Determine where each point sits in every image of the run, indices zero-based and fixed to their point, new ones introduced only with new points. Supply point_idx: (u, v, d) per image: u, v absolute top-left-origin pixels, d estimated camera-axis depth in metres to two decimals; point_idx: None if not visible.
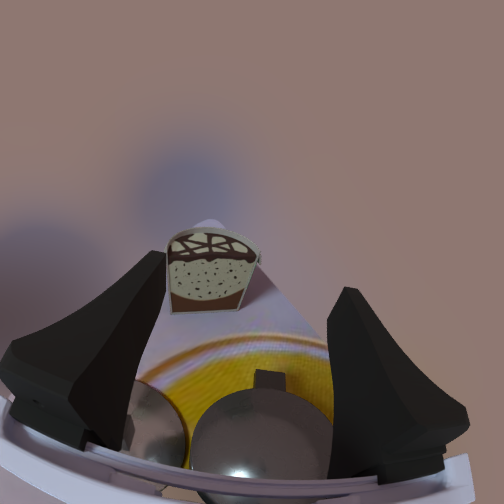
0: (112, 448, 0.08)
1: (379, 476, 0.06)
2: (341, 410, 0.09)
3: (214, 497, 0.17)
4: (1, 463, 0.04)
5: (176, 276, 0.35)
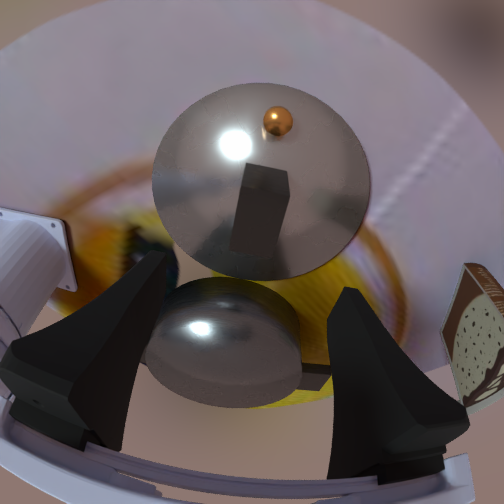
0: (112, 448, 0.08)
1: (379, 476, 0.06)
2: (341, 410, 0.09)
3: (162, 334, 0.21)
4: (1, 463, 0.04)
5: (494, 319, 0.17)
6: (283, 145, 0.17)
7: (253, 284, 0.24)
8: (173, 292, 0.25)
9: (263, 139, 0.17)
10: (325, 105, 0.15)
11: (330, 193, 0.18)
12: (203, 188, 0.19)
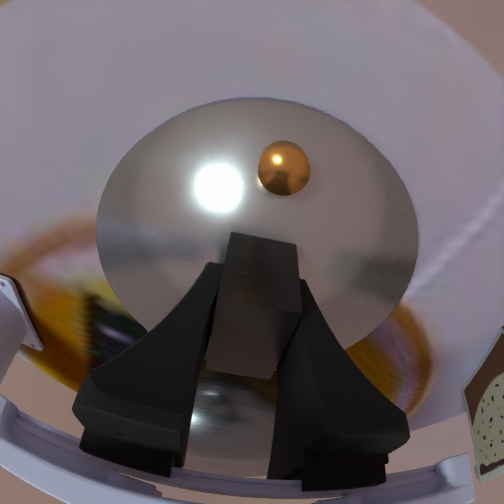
0: None
1: (303, 481, 0.06)
2: (280, 406, 0.09)
3: None
4: (1, 463, 0.04)
5: None
6: (291, 206, 0.11)
7: None
8: None
9: (258, 196, 0.10)
10: (364, 141, 0.09)
11: (360, 273, 0.12)
12: (168, 264, 0.13)
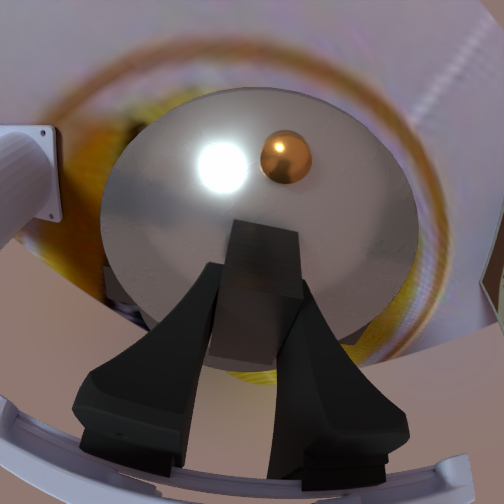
0: None
1: (303, 481, 0.06)
2: (280, 406, 0.09)
3: None
4: (1, 463, 0.04)
5: None
6: (293, 194, 0.11)
7: None
8: None
9: (261, 184, 0.11)
10: (366, 131, 0.09)
11: (361, 261, 0.12)
12: (172, 252, 0.13)
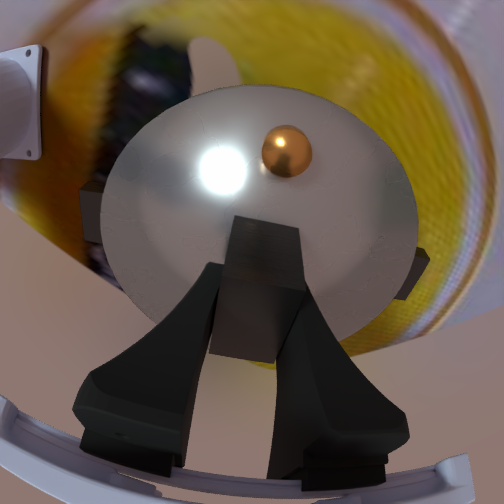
0: None
1: (303, 481, 0.06)
2: (280, 406, 0.09)
3: None
4: (1, 463, 0.04)
5: None
6: (294, 189, 0.11)
7: None
8: None
9: (262, 180, 0.11)
10: (364, 125, 0.09)
11: (361, 258, 0.12)
12: (172, 249, 0.13)
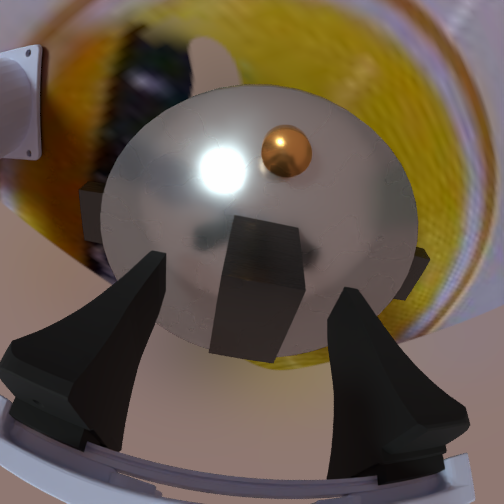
0: (112, 448, 0.08)
1: (379, 476, 0.06)
2: (341, 410, 0.09)
3: None
4: (1, 463, 0.04)
5: None
6: (294, 189, 0.11)
7: None
8: None
9: (261, 179, 0.11)
10: (364, 125, 0.09)
11: (361, 257, 0.12)
12: (172, 249, 0.13)
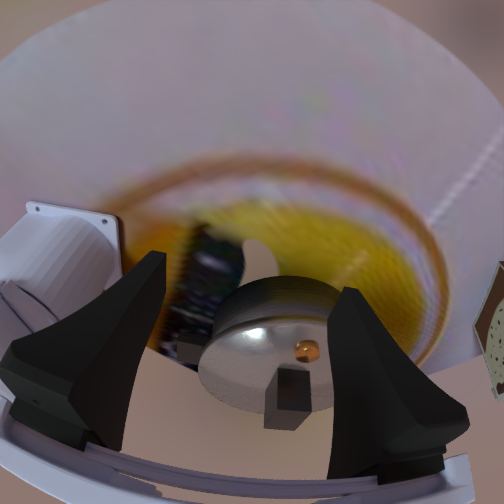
0: (112, 448, 0.08)
1: (379, 476, 0.06)
2: (341, 410, 0.09)
3: None
4: (1, 463, 0.04)
5: None
6: None
7: (318, 282, 0.24)
8: (235, 292, 0.25)
9: (293, 356, 0.20)
10: None
11: None
12: (241, 377, 0.22)
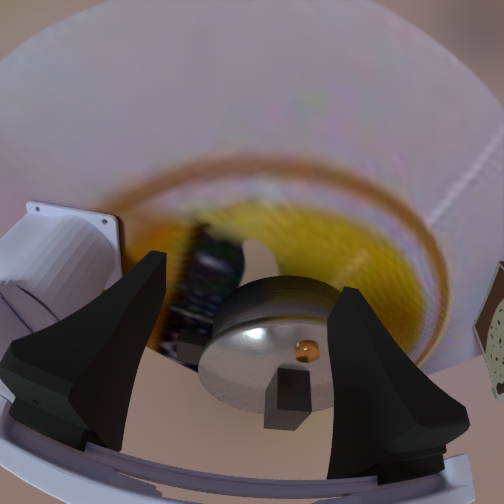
0: (112, 448, 0.08)
1: (379, 476, 0.06)
2: (341, 410, 0.09)
3: None
4: (1, 463, 0.04)
5: None
6: None
7: (318, 282, 0.24)
8: (235, 292, 0.25)
9: (293, 356, 0.20)
10: None
11: None
12: (241, 377, 0.22)
